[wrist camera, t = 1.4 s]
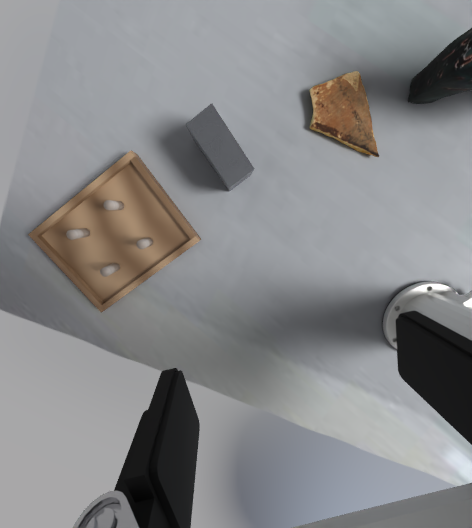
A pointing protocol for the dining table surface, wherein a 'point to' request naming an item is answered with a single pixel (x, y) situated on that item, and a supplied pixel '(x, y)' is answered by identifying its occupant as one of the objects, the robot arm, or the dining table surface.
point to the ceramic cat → (445, 73)
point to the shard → (344, 112)
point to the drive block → (220, 147)
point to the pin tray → (115, 232)
